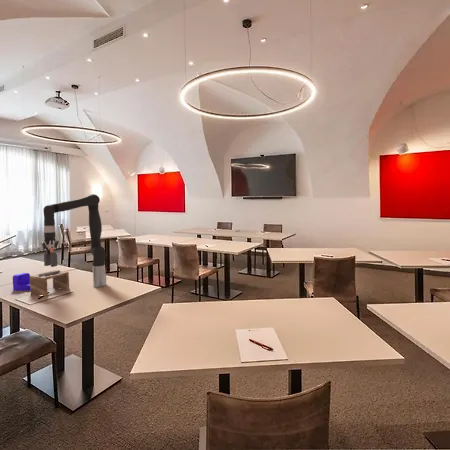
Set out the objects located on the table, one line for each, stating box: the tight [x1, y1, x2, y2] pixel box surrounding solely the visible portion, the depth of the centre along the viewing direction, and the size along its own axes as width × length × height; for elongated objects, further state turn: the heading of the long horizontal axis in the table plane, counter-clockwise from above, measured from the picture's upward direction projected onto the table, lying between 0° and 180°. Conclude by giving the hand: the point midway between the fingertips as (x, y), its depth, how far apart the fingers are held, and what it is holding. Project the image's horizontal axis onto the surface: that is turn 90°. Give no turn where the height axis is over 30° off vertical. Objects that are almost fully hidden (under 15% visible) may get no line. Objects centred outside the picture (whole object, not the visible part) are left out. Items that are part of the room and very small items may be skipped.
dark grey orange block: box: [43, 246, 58, 268], centre depth 222 cm, size 4×9×14 cm, turn 68°
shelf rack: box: [30, 269, 70, 297], centre depth 224 cm, size 20×16×15 cm
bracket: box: [12, 272, 31, 292], centre depth 231 cm, size 18×11×12 cm, turn 73°
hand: (50, 254), depth 221 cm, fingers closed on dark grey orange block, 2 cm apart
